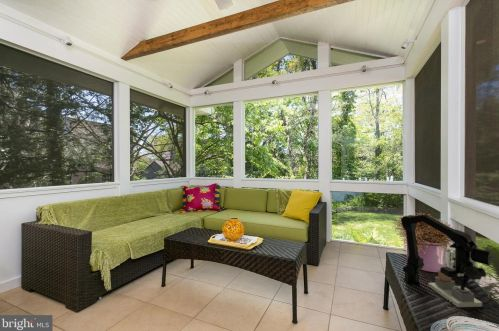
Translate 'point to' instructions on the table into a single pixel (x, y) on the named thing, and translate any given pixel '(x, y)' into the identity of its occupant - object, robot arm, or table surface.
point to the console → (454, 294)
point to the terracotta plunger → (443, 277)
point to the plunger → (462, 289)
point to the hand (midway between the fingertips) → (462, 288)
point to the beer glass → (450, 258)
